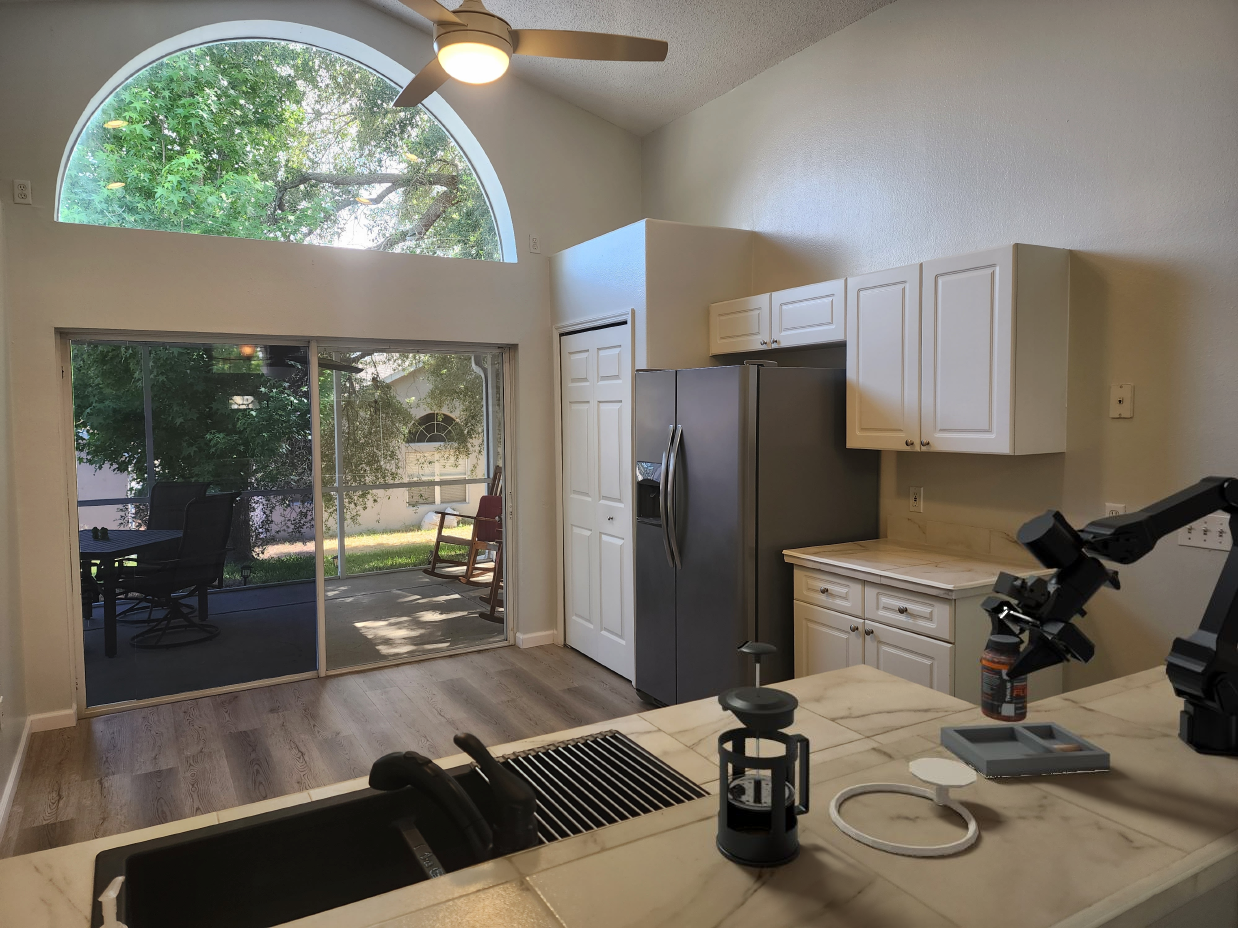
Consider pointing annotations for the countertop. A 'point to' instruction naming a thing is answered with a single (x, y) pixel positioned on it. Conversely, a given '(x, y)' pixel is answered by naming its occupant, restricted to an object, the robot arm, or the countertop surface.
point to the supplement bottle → (1002, 681)
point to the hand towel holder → (931, 773)
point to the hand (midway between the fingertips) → (994, 670)
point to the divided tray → (1023, 749)
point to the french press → (757, 794)
